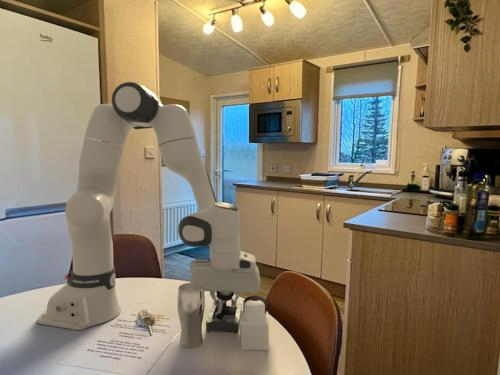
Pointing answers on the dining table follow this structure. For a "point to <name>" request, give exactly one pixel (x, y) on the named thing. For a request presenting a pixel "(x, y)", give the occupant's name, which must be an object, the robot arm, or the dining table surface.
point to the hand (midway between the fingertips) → (225, 305)
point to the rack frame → (224, 325)
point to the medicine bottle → (254, 324)
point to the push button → (223, 304)
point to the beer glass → (191, 314)
